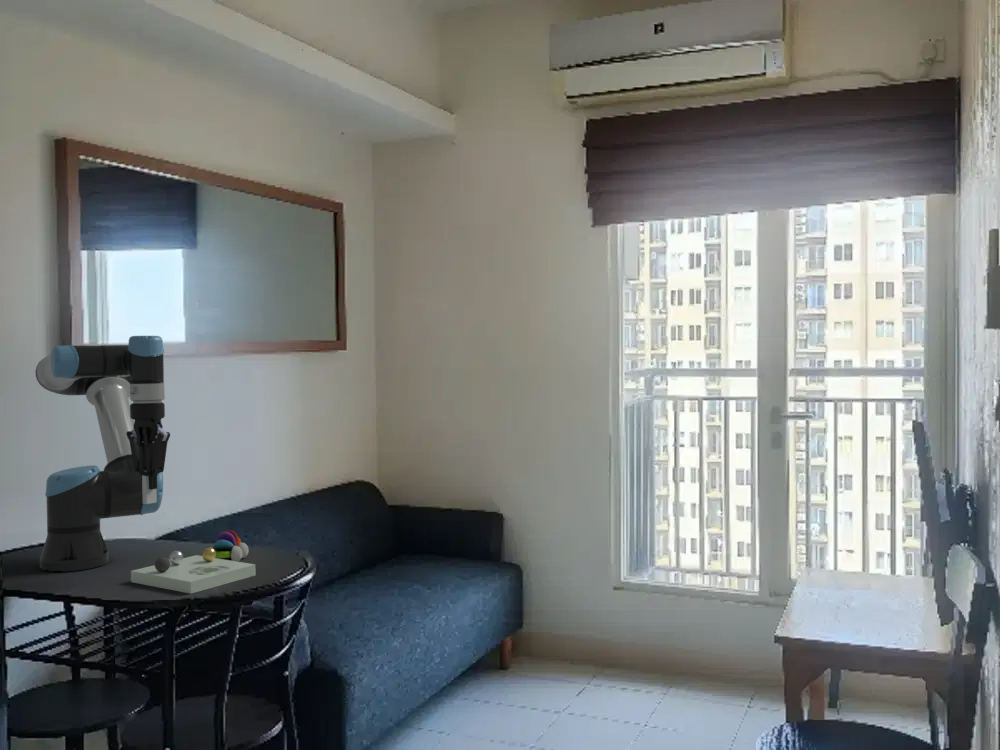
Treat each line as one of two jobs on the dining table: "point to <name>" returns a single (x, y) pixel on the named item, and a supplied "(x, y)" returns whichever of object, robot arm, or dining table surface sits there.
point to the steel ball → (176, 557)
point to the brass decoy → (208, 554)
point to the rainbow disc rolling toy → (230, 546)
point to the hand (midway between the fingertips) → (149, 502)
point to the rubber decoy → (162, 564)
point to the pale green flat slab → (194, 574)
